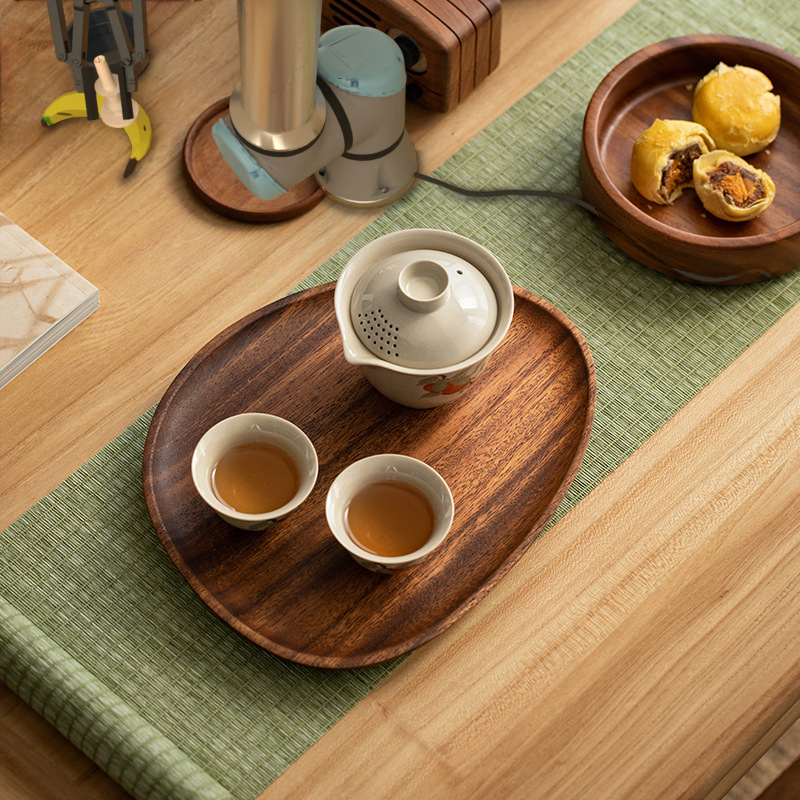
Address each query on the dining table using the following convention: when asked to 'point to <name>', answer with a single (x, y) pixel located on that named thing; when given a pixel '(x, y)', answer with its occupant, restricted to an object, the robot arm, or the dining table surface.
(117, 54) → the bowl
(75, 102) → the banana
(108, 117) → the candle
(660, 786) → the dining table surface
